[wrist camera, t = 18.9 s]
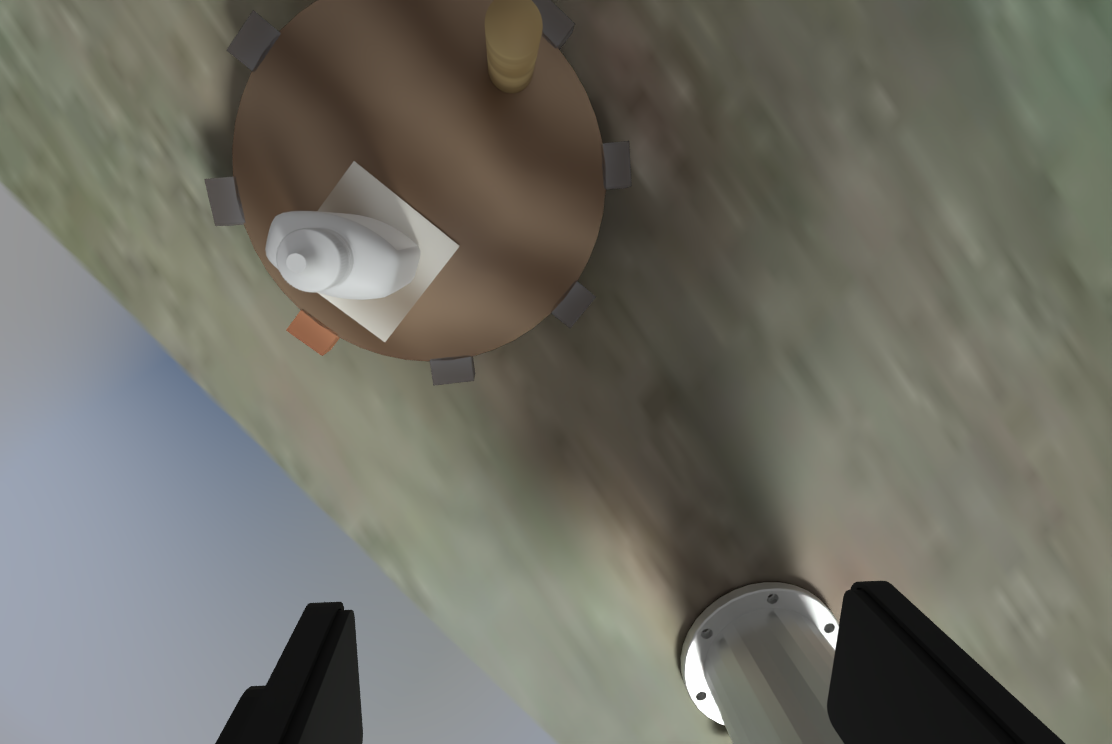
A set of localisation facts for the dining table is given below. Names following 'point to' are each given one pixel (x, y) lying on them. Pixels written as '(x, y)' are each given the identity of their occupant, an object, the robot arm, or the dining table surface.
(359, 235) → the eye dropper bottle
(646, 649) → the dining table surface
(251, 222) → the sprocket
